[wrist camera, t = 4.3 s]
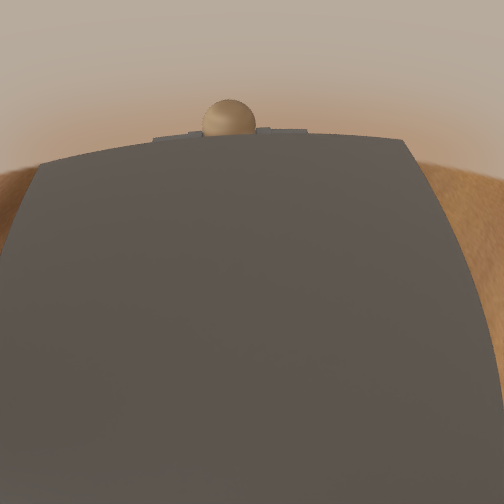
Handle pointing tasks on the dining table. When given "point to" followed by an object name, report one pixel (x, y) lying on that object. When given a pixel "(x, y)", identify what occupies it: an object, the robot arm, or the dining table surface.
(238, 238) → the handle
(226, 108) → the brown ball
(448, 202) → the dining table surface
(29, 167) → the dining table surface
